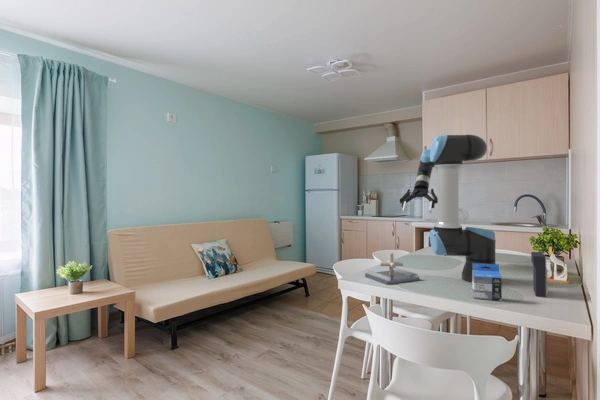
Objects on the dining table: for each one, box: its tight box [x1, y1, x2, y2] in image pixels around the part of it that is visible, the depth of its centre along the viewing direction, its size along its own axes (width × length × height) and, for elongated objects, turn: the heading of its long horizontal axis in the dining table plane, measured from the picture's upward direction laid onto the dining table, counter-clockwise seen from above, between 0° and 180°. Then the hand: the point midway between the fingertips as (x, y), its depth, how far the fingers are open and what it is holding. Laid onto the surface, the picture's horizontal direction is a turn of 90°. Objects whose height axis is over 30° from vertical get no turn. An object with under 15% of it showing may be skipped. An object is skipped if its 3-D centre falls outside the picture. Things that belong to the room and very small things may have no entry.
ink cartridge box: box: [471, 263, 503, 302], centre depth 118 cm, size 9×4×12 cm, turn 70°
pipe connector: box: [379, 252, 404, 275], centre depth 149 cm, size 10×10×10 cm
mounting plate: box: [364, 266, 420, 285], centre depth 149 cm, size 16×18×3 cm
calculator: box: [530, 251, 549, 298], centre depth 124 cm, size 11×4×15 cm, turn 148°
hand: (416, 211), depth 173 cm, fingers open, 13 cm apart
